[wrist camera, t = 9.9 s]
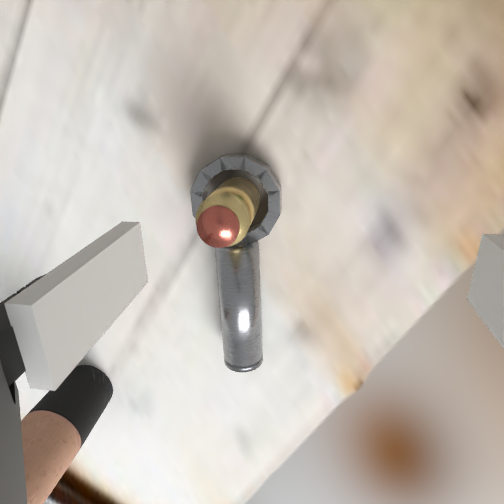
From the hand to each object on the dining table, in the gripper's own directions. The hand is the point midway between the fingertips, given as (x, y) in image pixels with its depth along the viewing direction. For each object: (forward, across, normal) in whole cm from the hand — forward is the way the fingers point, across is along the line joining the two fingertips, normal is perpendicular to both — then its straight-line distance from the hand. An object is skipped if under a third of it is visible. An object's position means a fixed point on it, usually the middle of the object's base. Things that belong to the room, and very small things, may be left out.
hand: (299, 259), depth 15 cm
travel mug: (+25, -29, -32) cm, 50 cm away
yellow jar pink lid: (+25, -7, -4) cm, 27 cm away
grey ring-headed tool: (+25, -7, -12) cm, 29 cm away
